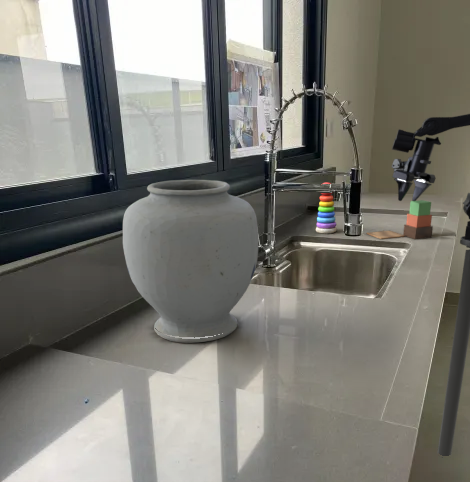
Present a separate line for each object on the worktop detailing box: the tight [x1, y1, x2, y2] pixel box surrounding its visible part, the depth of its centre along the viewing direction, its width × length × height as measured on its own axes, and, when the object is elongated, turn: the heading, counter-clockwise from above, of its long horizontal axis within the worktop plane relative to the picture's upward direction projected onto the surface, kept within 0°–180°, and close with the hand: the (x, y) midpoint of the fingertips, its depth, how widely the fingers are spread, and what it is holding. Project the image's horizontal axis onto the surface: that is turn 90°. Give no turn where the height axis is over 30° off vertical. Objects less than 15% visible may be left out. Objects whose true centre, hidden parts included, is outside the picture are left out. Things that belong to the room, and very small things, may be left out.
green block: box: [408, 199, 432, 216], centre depth 177 cm, size 5×5×4 cm
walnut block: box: [402, 224, 434, 240], centre depth 180 cm, size 7×7×4 cm
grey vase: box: [122, 179, 259, 344], centre depth 101 cm, size 27×27×30 cm
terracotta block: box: [405, 213, 433, 228], centre depth 178 cm, size 6×6×4 cm
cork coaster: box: [366, 230, 406, 240], centre depth 184 cm, size 10×10×1 cm
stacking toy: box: [315, 182, 338, 235], centre depth 189 cm, size 8×8×19 cm
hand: (406, 200), depth 176 cm, fingers open, 9 cm apart
